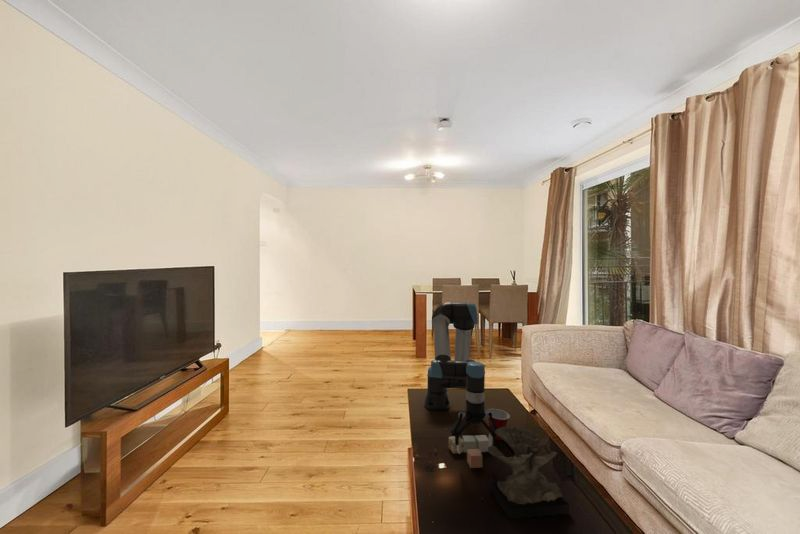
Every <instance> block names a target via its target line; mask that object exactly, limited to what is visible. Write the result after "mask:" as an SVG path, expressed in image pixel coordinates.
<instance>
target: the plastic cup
mask: <svg viewBox="0 0 800 534" xmlns="http://www.w3.org/2000/svg"><path fill="white" fill-rule="evenodd" d="M488 410H489V411H490V412H491V413H492V418H493V420H494V422H495V425H496V427H497V429H498V428H501V427H507V424H508V420H509V419H510V417H511V416H510V414H509V413H508V412H507V411H505V410H502V409H499V408H498V409H497V408H489V409H486V412H487V411H488ZM487 420H488V426H489V427H490V428H491V430H492V431H494V429H493V427H492V424H491V422H490V420H489V418H488V417H487ZM502 440H503V439H501V438H500V437H499V436H497V435H496V437H495V441H502ZM503 441H504V440H503Z"/></svg>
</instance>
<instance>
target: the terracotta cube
mask: <svg viewBox="0 0 800 534" xmlns="http://www.w3.org/2000/svg"><path fill="white" fill-rule="evenodd" d="M466 462H467V464H468V465H469V468H470V469H477V468H478V469H479V468H483V454H482V452H480V451H479V449H467V453H466Z"/></svg>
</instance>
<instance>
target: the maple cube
mask: <svg viewBox="0 0 800 534" xmlns="http://www.w3.org/2000/svg"><path fill="white" fill-rule="evenodd" d="M448 449H449V450H450V451H451V453H452V454H453V455H455V454H459V453H458V451H457V445H456V444H455V436H452V435H451V436H448ZM462 453H465V452H464V441H463V438H461V454H462Z"/></svg>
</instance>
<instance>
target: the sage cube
mask: <svg viewBox="0 0 800 534" xmlns="http://www.w3.org/2000/svg"><path fill="white" fill-rule="evenodd" d="M462 440H463V441H464V452H463V453H465V454H467V449H476V441H475V435H462Z"/></svg>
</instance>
